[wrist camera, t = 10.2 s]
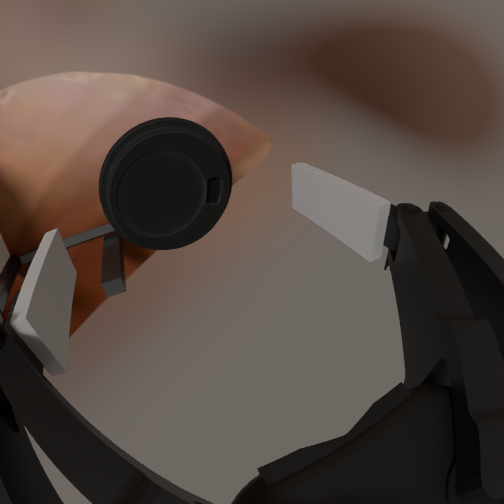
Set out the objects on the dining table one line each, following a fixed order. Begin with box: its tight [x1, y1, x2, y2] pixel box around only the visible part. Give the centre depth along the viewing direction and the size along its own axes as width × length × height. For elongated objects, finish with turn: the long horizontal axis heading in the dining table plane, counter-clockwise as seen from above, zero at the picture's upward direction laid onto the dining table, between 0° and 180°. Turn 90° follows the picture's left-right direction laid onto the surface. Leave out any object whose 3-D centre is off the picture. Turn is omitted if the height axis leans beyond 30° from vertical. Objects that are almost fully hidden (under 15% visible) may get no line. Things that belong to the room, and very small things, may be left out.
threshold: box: [20, 223, 114, 264], centre depth 27 cm, size 14×1×1 cm, turn 96°
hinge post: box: [0, 255, 21, 324], centre depth 21 cm, size 3×3×11 cm
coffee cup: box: [99, 117, 232, 250], centre depth 22 cm, size 9×9×15 cm
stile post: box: [101, 232, 126, 297], centre depth 27 cm, size 2×2×10 cm
